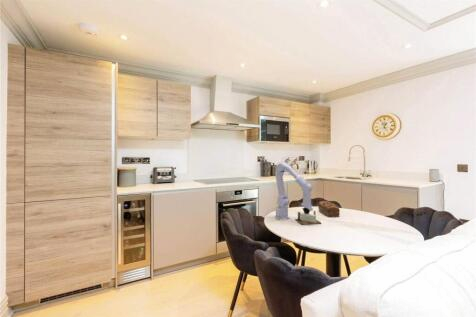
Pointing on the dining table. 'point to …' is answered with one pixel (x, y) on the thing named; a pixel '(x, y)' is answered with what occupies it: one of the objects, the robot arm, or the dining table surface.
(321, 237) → the dining table surface
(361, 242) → the dining table surface
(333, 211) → the bread
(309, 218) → the gate leaf
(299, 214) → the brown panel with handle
